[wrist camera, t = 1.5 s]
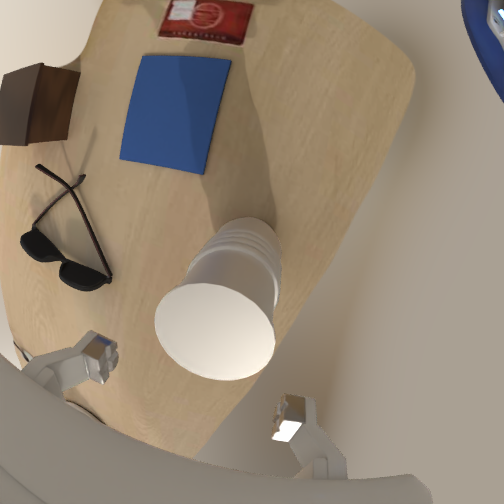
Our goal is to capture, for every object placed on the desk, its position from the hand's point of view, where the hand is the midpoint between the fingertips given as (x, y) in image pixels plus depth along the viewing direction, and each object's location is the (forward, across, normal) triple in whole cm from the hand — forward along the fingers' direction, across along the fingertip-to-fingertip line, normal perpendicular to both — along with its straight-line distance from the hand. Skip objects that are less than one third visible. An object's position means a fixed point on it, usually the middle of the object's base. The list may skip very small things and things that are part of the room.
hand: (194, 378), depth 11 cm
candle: (+18, 0, 0) cm, 18 cm away
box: (+18, +30, -12) cm, 37 cm away
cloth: (+18, +11, -12) cm, 24 cm away
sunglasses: (+18, +23, +2) cm, 29 cm away
